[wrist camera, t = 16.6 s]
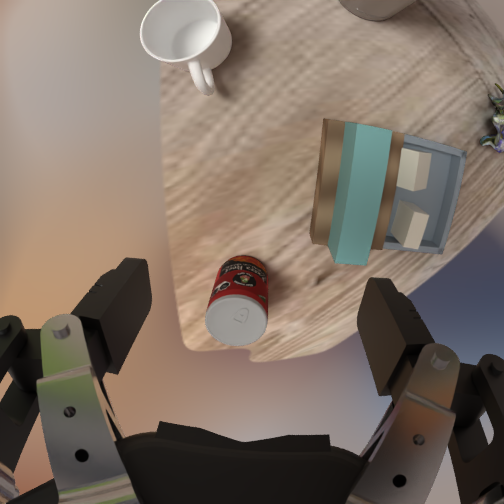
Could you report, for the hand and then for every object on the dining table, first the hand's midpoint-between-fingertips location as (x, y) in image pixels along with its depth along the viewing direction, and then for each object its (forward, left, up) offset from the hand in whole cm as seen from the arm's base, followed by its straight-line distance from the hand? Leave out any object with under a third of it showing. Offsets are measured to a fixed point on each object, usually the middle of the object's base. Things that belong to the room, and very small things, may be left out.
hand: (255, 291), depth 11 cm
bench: (+2, +12, -30) cm, 32 cm away
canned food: (+18, -2, -30) cm, 35 cm away
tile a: (-2, +19, -28) cm, 34 cm away
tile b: (+6, +19, -27) cm, 34 cm away
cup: (-13, -9, -30) cm, 34 cm away
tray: (+2, +23, -30) cm, 38 cm away
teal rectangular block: (+2, +11, -27) cm, 29 cm away
